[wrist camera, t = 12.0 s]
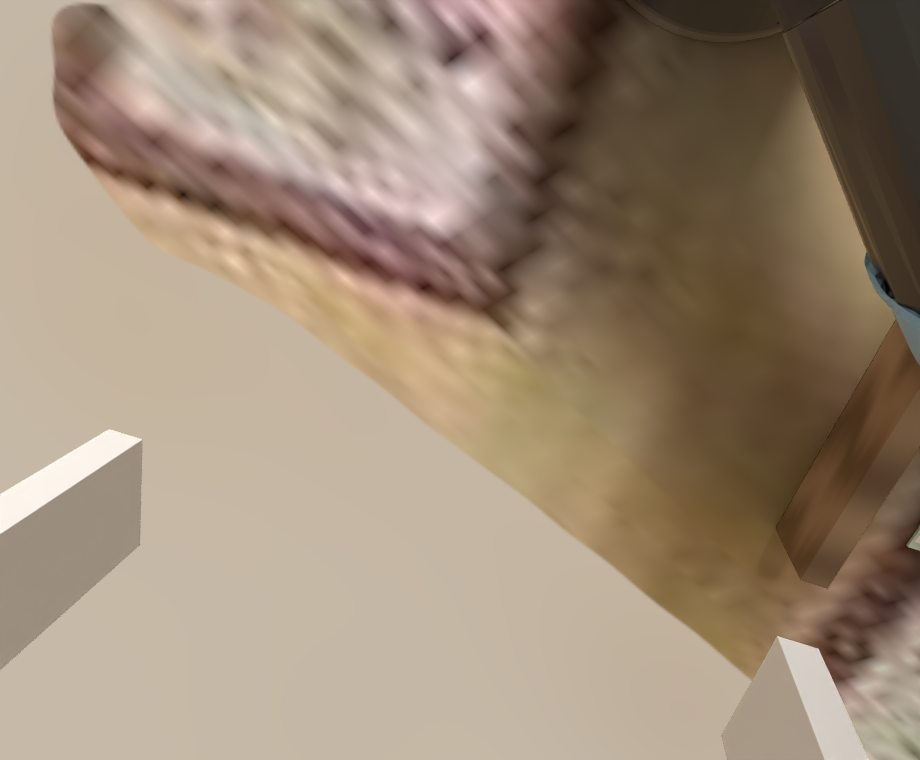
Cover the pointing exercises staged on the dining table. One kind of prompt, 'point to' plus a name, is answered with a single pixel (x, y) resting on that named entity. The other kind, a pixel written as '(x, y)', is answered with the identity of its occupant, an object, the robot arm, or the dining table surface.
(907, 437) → the brown l-shaped piece
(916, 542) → the pad
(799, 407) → the dining table surface
